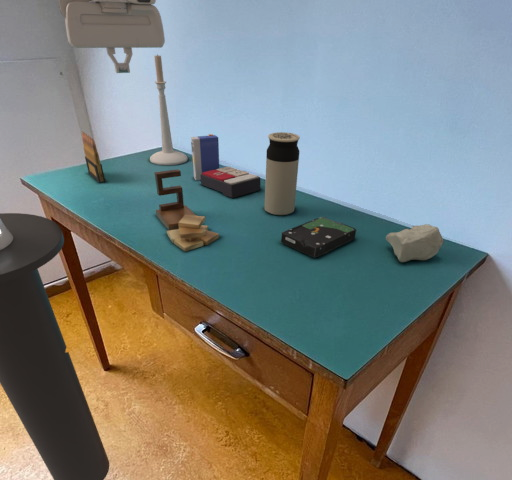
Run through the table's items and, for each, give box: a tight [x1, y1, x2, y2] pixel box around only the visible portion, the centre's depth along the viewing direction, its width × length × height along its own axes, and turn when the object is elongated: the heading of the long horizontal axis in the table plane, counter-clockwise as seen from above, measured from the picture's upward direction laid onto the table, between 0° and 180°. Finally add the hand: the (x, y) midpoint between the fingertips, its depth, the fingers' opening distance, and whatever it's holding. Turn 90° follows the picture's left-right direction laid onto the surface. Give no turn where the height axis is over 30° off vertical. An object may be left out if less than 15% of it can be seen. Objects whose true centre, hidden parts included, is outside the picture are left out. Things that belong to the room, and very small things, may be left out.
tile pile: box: [166, 214, 220, 252], centre depth 90 cm, size 10×11×4 cm
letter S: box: [154, 169, 197, 231], centre depth 95 cm, size 8×10×10 cm
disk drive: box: [280, 216, 357, 259], centre depth 91 cm, size 10×3×15 cm
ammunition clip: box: [81, 131, 106, 184], centre depth 118 cm, size 11×2×12 cm, turn 35°
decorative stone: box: [385, 223, 444, 263], centre depth 85 cm, size 11×9×10 cm
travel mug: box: [264, 131, 300, 216], centre depth 100 cm, size 8×8×18 cm
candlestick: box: [149, 53, 188, 166], centre depth 128 cm, size 13×13×30 cm
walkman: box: [190, 133, 220, 181], centre depth 120 cm, size 8×3×12 cm, turn 115°
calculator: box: [200, 166, 261, 199], centre depth 117 cm, size 11×4×15 cm
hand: (122, 72), depth 90 cm, fingers closed
